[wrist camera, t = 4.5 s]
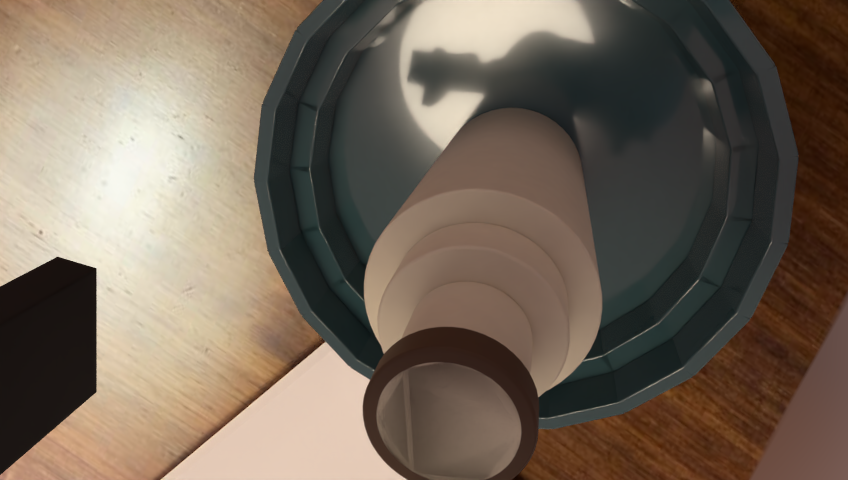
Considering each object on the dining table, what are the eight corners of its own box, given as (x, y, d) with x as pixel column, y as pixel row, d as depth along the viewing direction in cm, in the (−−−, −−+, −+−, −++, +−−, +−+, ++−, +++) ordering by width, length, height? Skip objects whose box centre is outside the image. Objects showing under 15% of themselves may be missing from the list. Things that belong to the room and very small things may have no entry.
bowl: (840, -6, 22) (915, -8, 18) (651, 411, 30) (668, 485, 25) (339, -118, 24) (288, -147, 19) (281, 300, 32) (234, 350, 27)
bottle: (602, 128, 25) (677, 333, 9) (558, 258, 27) (561, 592, 12) (459, 91, 25) (312, 229, 10) (428, 222, 28) (271, 496, 12)
